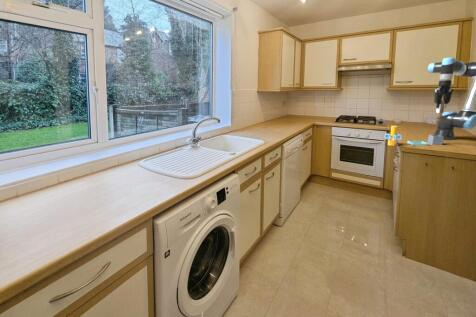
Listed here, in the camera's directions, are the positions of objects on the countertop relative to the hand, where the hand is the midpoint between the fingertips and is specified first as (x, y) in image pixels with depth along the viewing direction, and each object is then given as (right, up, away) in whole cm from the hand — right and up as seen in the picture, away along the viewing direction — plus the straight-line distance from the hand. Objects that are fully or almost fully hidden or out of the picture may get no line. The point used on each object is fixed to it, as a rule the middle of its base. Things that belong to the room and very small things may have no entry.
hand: (440, 112), depth 207 cm
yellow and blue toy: (-32, -24, +8) cm, 41 cm away
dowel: (0, -8, +2) cm, 8 cm away
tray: (-13, -24, +6) cm, 28 cm away
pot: (0, -24, +6) cm, 25 cm away
